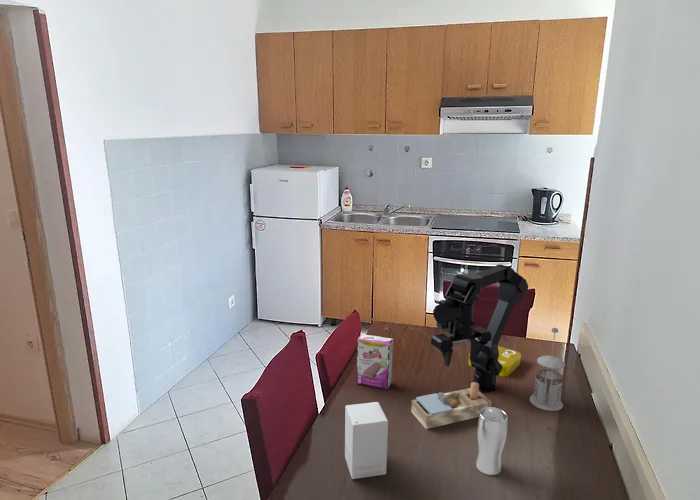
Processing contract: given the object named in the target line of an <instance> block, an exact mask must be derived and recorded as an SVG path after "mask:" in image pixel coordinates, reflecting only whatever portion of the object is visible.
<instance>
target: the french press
mask: <svg viewBox="0 0 700 500" xmlns="http://www.w3.org/2000/svg"><path fill="white" fill-rule="evenodd" d="M551 328H552V329H551V332H552V333H554V334H553V340H552V349H551V355H542V356H539V357H537V359H536V361H537V362H536V363H537V364H538V365H539V366H541V367H542V368H541V369H538V370H537V371H536V375H535V377H534V387H533V394H532V395H530V397H529V402H530V403H531V404H532V405H533V406H534V407H536V408H538V409H541V410H544V411H549V412H554V411H556V412H557V411H560V410H562V409H563V407H564V404H563V402H562V401H561V400H562V399H561V397H562V393H563V392H562V389H563V383H564V382H563V381H564V380H563V375H562V374H561V373H560V372H559V371H557V370H561V369H563V368H565V367H566V363H565V362H564V361H563V360H562V359H560V358H559V357H558V356H554V355H553V353H554V344H555V338H556V334H557V333H559V329H558V328H557V327H551Z"/></svg>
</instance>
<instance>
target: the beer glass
mask: <svg viewBox="0 0 700 500" xmlns="http://www.w3.org/2000/svg"><path fill="white" fill-rule="evenodd" d="M508 419H509V418H508V414H507V412H505V411H504V410H503V409H501V408H497V407H494V406H491V407H485V408H482V409H481V410H480V414H479V417H478V422H477V429H476V431H477V433H476V435H477V444H478V455H477V459H476V462H475V463H476V464H475V465H476V469H478V471H480V472H481V473H482V474H484V475H487V476H496V475H499V474H500V473H501V471H502V461H501V458H502V454H503V453H502V452H503V449H504V447H505V443H506V439H507V434H508Z"/></svg>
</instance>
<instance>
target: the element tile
mask: <svg viewBox="0 0 700 500" xmlns="http://www.w3.org/2000/svg"><path fill="white" fill-rule="evenodd" d="M498 351H499V357H498V362H499V363H500V364H501V365H502V366H503V367H502V371H501V373H499V375H498V376H499V377H504V378H507V377H510V375H511V374H512V373H513V372H514V371H515V370H516V369H517V368H518V367H519V366H520V364H521V359H522V354H521V352H519V351H517V350H513V349H510V348H506V347H504V346H500V345H498ZM469 357H470V352H469V354H468V363H467V364H468V366H470V367H472V366H471V362H470V358H469Z"/></svg>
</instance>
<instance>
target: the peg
mask: <svg viewBox="0 0 700 500" xmlns="http://www.w3.org/2000/svg"><path fill="white" fill-rule="evenodd" d="M471 382H472V381H471ZM471 382H470V388H471V389H470V399H471V400H477V399H478V392H480V390H479V384H478V383H477V382H472V383H471Z"/></svg>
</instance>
